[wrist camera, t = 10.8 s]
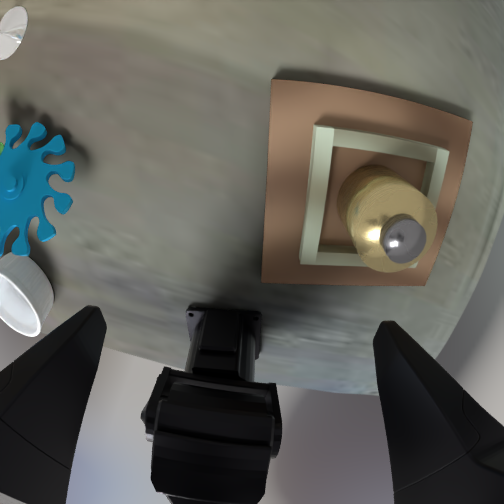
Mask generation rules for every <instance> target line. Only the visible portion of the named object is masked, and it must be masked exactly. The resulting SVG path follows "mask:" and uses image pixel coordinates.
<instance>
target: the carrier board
mask: <svg viewBox="0 0 504 504" xmlns="http://www.w3.org/2000/svg"><path fill="white" fill-rule="evenodd" d="M472 123H473V122H472V121H469V120H467V119H464V118H461V117H459V116H456V115H453V114H450V113H447V112H444V111H441V110H438V109H435V108H432V107H429V106H425V105H422V104H419V103H415V102H411V101H408V100H404V99H400V98H396V97H392V96H388V95H383V94H379V93H374V92H369V91H364V90H359V89H353V88H347V87H341V86H335V85H328V84H320V83H312V82H302V81H291V80H278V79H271V99H270V121H269V142H268V162H267V182H266V200H265V219H264V236H263V253H262V270H261V283H282V284H313V285H361V286H425V284H426V282H427V280H428V277H429V275H430V273H431V270H432V268H433V265H434V263H435V260H436V258H437V255H438V252H439V250H440V247H441V244H442V241H443V239H444V236H445V233H446V230H447V227H448V224H449V221H450V218H451V215H452V211H453V208H454V205H455V201H456V198H457V194H458V190H459V187H460V183H461V179H462V175H463V170H464V166H465V162H466V157H467V152H468V147H469V142H470V136H471V130H472ZM367 165H382V166H385V167H388V168H390V169H392V170H393V171H394V172H396V173H397V174H398V175H400V176H401V177H402V178H404V179H405V180H406V181H407V182H409V183H410V184H411V185H412V186H414V187H415V188H416V189H417V190H419V191H420V192H421V193H422V194H423V195H425V196H426V197H427V198H428V199H429V200H430V201H431V203H432V204H433V206H434V208H435V211H436V214H437V231H436V235H435V238H434V241H433V243H432V245H431V247H430V248H429V250H428V251H427V253H426V254H425V255H424V256H423V257H422V258H421V259H420V260H419V261H418V262H416V263H415V264H413V265H412V266H410V267H408V268H406V269H404V270H401V271H397V272H388V273H386V272H379V271H376V270H374V269H372V268H370V267H368V266H367V265H366V264H365V263H364V262H363V261H362V259H361V258H360V256H359V254H358V252H357V250H356V248H355V246H354V244H353V242H352V240H351V238H350V236H349V234H348V232H347V231H346V229H345V227H344V225H343V223H342V221H341V219H340V217H339V215H338V211H337V196H338V192H339V189H340V187H341V185H342V183H343V182H344V181H345V179H346V178H347V177H348V176H349V175H350V174H351V173H352V172H354V171H355V170H357V169H359V168H361V167H364V166H367Z"/></svg>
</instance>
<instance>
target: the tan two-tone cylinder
mask: <svg viewBox="0 0 504 504" xmlns="http://www.w3.org/2000/svg"><path fill="white" fill-rule="evenodd" d="M337 211H338V215H339V217H340V219H341V221H342V223H343V225H344V227H345V229H346V231H347V232H348V234H349V236H350V238H351V240H352V242H353V244H354V246H355V248H356V250H357V252H358V254H359V256H360V258H361V259H362V261H363V262H364V263H365V264H366V265H367V266H368V267H370V268H372V269H374V270H376V271H379V272H386V273H388V272H397V271H401V270H404V269H406V268H408V267H410V266H412V265H413V264H415V263H416V262H418V261H419V260H420V259H421V258H422V257H423V256H424V255H425V254H426V253H427V251H428V250H429V248H430V247H431V245H432V243H433V241H434V238H435V235H436V231H437V214H436V211H435V208H434V206H433V204H432V203H431V201H430V200H429V199H428V198H427V197H426V196H425V195H423V194H422V193H421V192H420V191H419V190H417V189H416V188H415V187H414V186H412V185H411V184H410V183H409V182H407V181H406V180H405V179H404V178H402V177H401V176H400V175H398V174H397V173H396V172H394V171H393V170H392V169H390V168H388V167H385V166H382V165H367V166H364V167H361V168H359V169H357V170H355V171H354V172H352V173H351V174H350V175H349V176H348V177H347V178H346V179H345V181H344V182H343V183H342V185H341V187H340V189H339V192H338V196H337Z"/></svg>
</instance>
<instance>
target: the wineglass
mask: <svg viewBox="0 0 504 504" xmlns="http://www.w3.org/2000/svg"><path fill="white" fill-rule="evenodd" d="M27 21H28V18H27V12H26V10H25V8H23V7H21V6H17V7H14V8H12V9H10V10H9V11H8V12H7V13H6V14H5V15H4V16H3V18H2V19H1V20H0V60H4V59H6V58H8V57H9V56H11V55H12V54H13V53H14V52H15V50H16V49H17V48H18V46H19V45H20V43H21V41H22V39H23V37H24V34H25V31H26V27H27Z"/></svg>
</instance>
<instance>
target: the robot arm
mask: <svg viewBox="0 0 504 504" xmlns="http://www.w3.org/2000/svg"><path fill="white" fill-rule="evenodd" d="M192 313H193V314H192ZM186 319H187V325H188V330H189V336H190V341H191V345H190V349H189V353H188V358H187V362H186V367H185V371H179V370H174V369H171V368H169V367H164V368H163V371H162V373H161V374H159V377H157V381H156V384H155V386H154V389H153V392H152V394H151V397H150V399H149V401H148V402H147V404H146V406H145V407H144V409H143V411H142V413H141V419H142V421H143V422H144V424H145V430H146V439H147V441H150V442H153V447H152V460H151V481H152V484H153V486H154V488H155V490H156V492H157V493H161V494H165V495H166V497H167V498H168V500H169V501H170V503H171V504H257V503H258V502H259V501H260V500H261V498H262V497H263V495H264V494H265V486H266V479H267V474H268V468H269V463H270V459H271V458H272V459H274V458H276V456H277V455H278V452H279V449H280V445H281V439H282V418H281V413H280V406H279V400H278V394H277V387H276V383H258V382H254V372H255V360H256V359H258V357H259V346H260V333H261V320H262V315H261V313H260V312H258V311H240V310H222V309H206V308H192V307H191V308H188V309H187V310H186ZM106 329H107V326H106V322H105V320H104V317H103V315H102V312H101V310H100V308H99V307H97V306H91V305H88V306H86V307H84V308H83V309H82V310H80V311H79V312H77V313H76V314H75V315H73V316H72V317H71V318H69V319H68V320H67V321H65V322H64V323H62V324H61V325H60V326H58V327H57V328H56V329H54V330H53V331H52V332H50V333H49V334H48V335H46V336H45V337H44V338H43V339H41V340H40V341H39V342H37V343H36V344H35V345H34V346H32V347H31V348H30V349H28V350H27V351H26V352H24V353H23V354H22V355H21V356H19V357H18V358H17V359H16V360H14V362H12V363H11V364H9V365H8V366H7V367H6V368H4V369H3V370H2V371H1V372H0V504H66V498H67V491H68V485H69V479H70V474H71V468H72V462H73V458H74V453H75V449H76V444H77V440H78V436H79V432H80V428H81V424H82V420H83V416H84V413H85V409H86V405H87V402H88V398H89V395H90V392H91V388H92V385H93V382H94V379H95V375H96V372H97V369H98V364H99V360H100V356H101V351H102V347H103V342H104V338H105V334H106ZM373 349H374V357H375V367H376V377H377V386H378V391H379V396H380V401H381V406H382V412H383V417H384V423H385V430H386V436H387V442H388V449H389V455H390V464H391V472H392V481H393V491H394V504H504V426H503V425H502V424H500V423H499V422H498V421H497V420H496V419H495V418H493V417H492V416H491V415H490V414H489V413H488V412H487V411H486V410H485V409H484V408H482V407H481V406H480V405H479V404H478V403H477V402H476V401H475V400H474V399H473V398H472V397H471V396H470V395H469V394H468V393H467V392H466V391H465V390H463V388H462V387H461V386H460V385H459V384H458V382H457V381H456V380H455V379H454V378H453V377H451V375H450V374H449V373H447V371H445V369H444V368H443V367H442V366H441V365H440V364H439V363H438V362H437V361H436V360H435V359H434V358H433V357H432V356H430V355H429V354H428V353H427V352H426V351H425V350H424V349H423V348H422V347H421V346H420V345H419V344H418V343H417V342H416V341H415V340H414V339H413V338H412V337H411V336H410V335H409V334H408V333H407V332H406V331H404V330H403V329H402V328H401V327H400V326H399V325H398V324H397V323H396V322H395V321H382V322H381V324H380V325H379V328H378V330H377V332H376V334H375V336H374V339H373Z"/></svg>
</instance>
